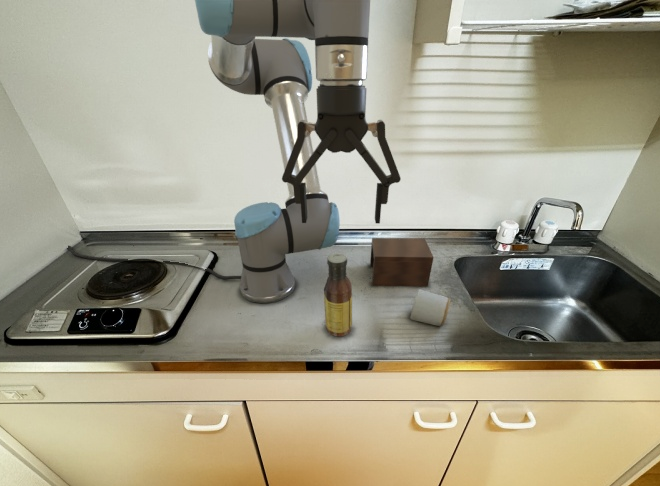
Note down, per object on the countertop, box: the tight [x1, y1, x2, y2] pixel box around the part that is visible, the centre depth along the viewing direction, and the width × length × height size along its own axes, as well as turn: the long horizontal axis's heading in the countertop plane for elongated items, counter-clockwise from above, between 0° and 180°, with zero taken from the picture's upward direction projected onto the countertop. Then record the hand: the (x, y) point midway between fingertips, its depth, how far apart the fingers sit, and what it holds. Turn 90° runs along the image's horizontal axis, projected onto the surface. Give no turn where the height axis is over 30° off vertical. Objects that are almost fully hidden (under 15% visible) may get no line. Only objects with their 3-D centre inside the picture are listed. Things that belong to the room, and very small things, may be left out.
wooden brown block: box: [369, 237, 435, 287], centre depth 93 cm, size 16×12×10 cm
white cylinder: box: [409, 289, 451, 327], centre depth 78 cm, size 11×8×8 cm
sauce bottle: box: [323, 252, 353, 338], centre depth 70 cm, size 6×6×20 cm
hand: (340, 220), depth 59 cm, fingers open, 13 cm apart
